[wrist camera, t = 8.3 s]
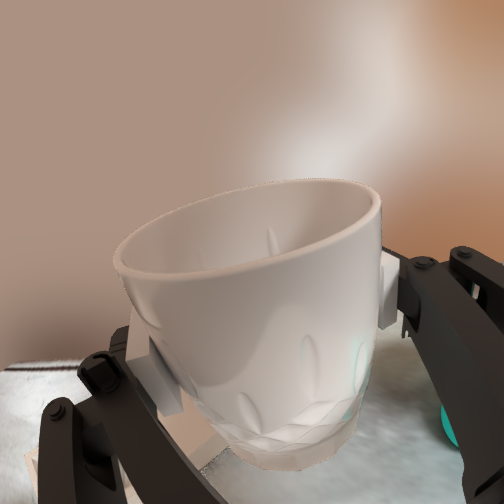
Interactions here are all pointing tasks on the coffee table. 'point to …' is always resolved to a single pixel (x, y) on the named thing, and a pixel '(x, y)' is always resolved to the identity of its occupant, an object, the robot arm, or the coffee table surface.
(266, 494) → the coffee table surface
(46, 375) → the coffee table surface
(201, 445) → the tray
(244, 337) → the white cup
